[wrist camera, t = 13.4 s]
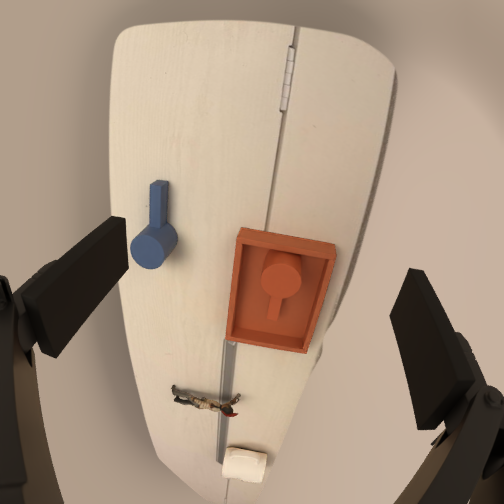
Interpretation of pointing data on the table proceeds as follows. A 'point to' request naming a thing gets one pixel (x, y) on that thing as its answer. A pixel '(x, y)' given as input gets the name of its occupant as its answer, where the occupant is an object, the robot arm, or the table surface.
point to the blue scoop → (155, 231)
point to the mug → (244, 465)
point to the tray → (257, 300)
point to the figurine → (205, 403)
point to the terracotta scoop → (280, 278)
